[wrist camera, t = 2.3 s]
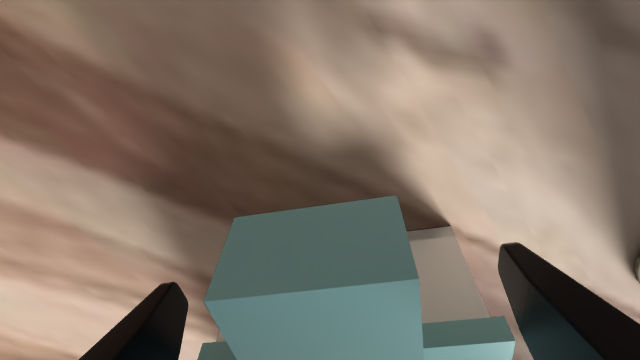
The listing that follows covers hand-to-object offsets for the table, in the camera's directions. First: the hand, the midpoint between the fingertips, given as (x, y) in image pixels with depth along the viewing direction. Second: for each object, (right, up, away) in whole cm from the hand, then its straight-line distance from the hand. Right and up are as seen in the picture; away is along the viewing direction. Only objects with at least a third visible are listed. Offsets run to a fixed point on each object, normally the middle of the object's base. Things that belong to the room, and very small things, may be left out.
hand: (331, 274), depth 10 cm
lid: (+1, -6, +4) cm, 7 cm away
